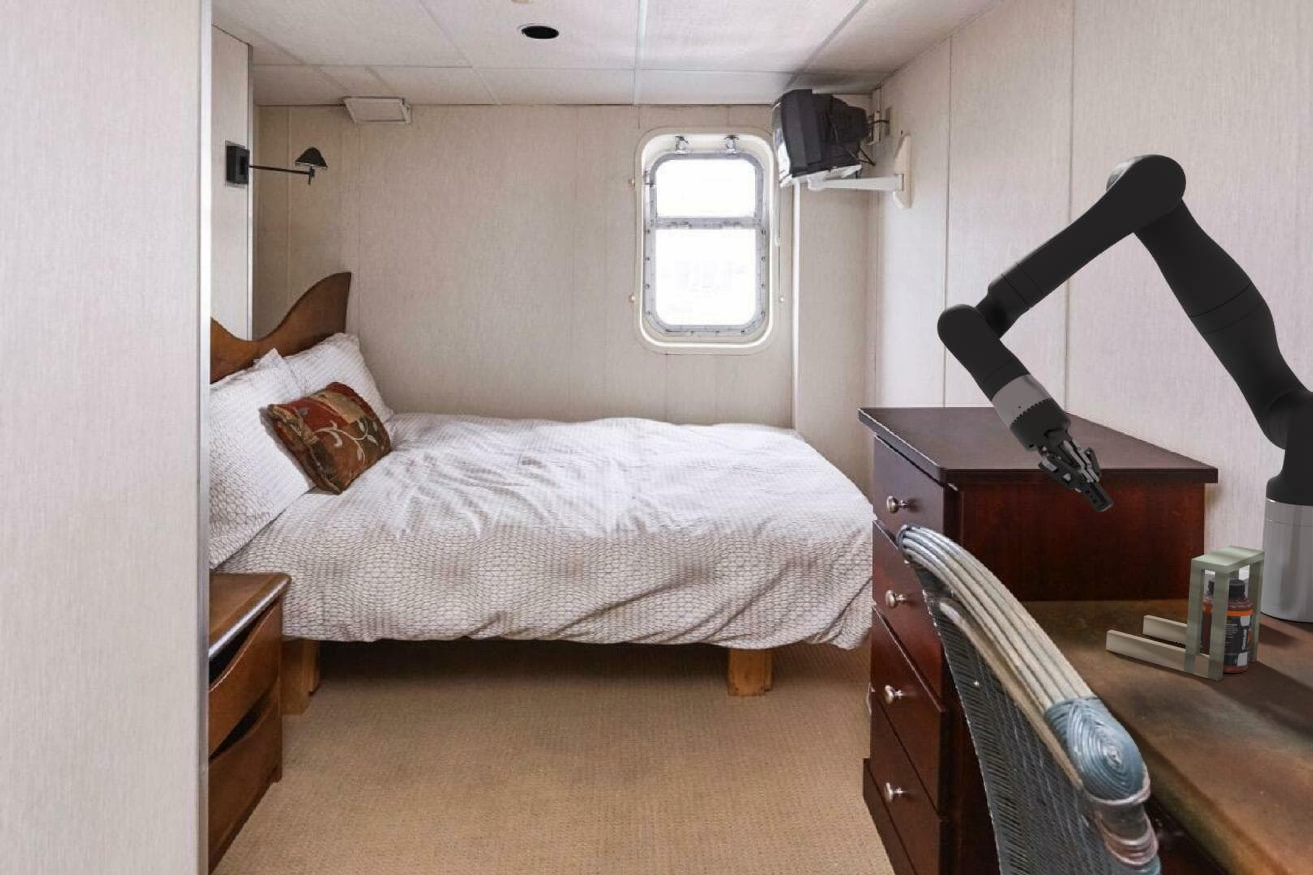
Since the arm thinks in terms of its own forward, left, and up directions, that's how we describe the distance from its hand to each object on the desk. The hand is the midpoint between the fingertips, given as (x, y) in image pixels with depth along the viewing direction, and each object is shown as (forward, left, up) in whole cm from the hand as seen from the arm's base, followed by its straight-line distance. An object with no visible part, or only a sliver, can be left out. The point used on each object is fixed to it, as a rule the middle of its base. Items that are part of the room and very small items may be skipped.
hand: (1106, 508), depth 131 cm
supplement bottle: (+1, +16, -18) cm, 24 cm away
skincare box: (-19, +9, -18) cm, 28 cm away
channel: (+1, +11, -18) cm, 21 cm away
